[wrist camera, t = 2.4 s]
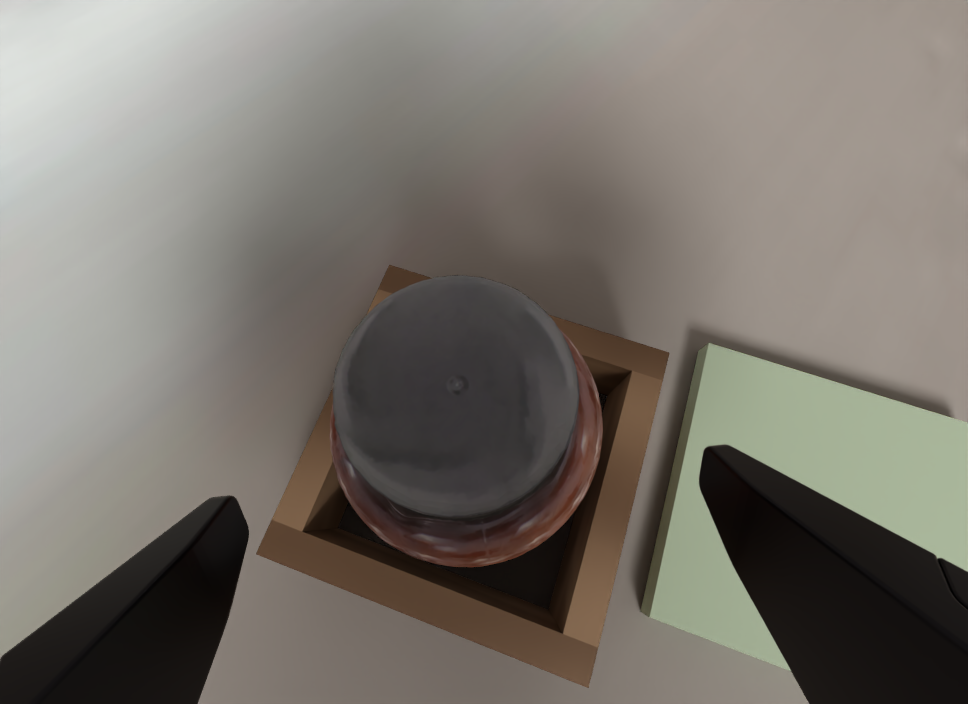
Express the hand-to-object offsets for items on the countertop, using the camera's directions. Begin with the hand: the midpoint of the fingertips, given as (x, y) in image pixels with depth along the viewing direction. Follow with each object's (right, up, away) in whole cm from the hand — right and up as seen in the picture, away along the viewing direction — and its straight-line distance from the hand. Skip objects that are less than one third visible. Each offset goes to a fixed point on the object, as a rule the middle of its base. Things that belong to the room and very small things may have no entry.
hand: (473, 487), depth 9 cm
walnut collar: (0, -2, +9) cm, 9 cm away
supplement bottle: (0, -2, +9) cm, 9 cm away
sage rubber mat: (+12, -3, +8) cm, 15 cm away
